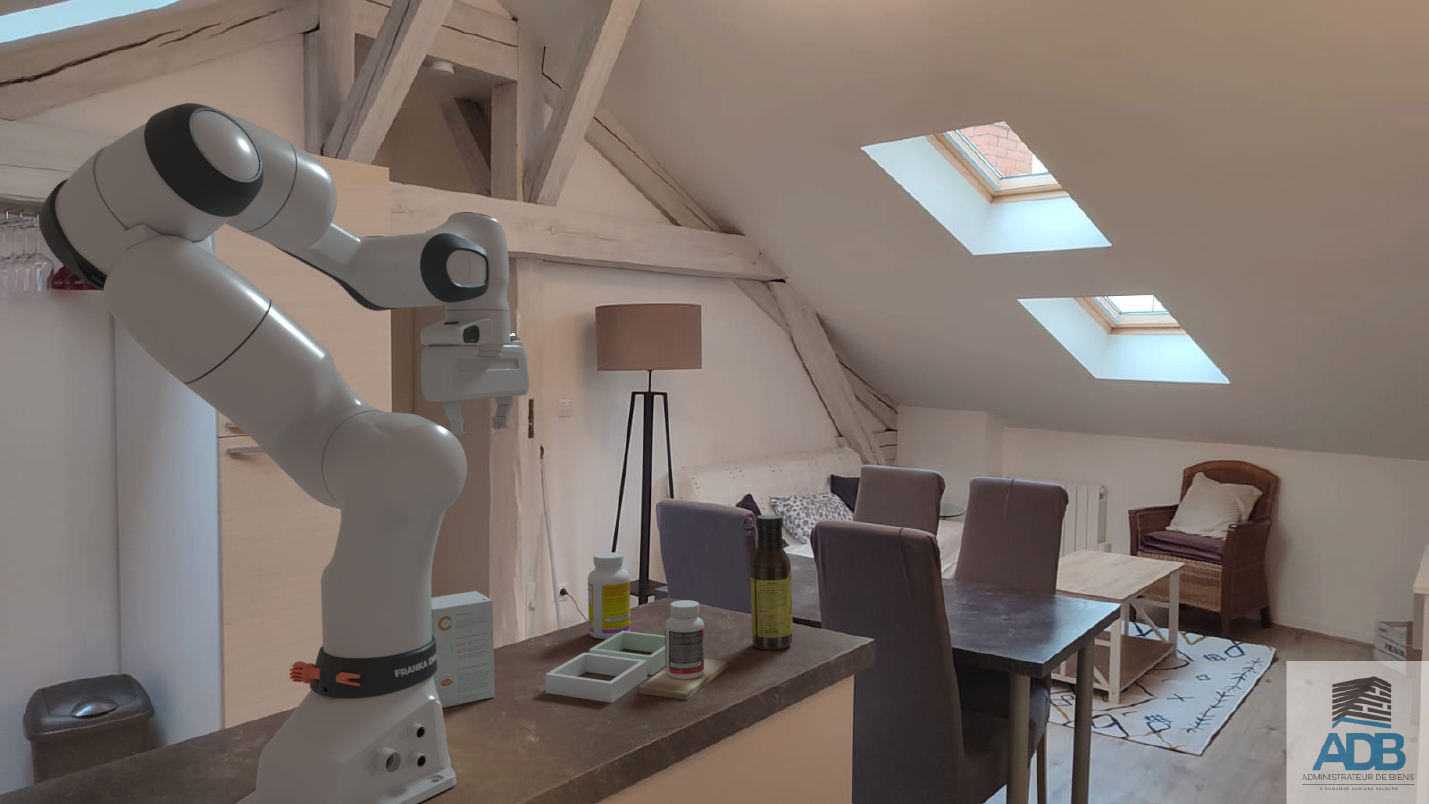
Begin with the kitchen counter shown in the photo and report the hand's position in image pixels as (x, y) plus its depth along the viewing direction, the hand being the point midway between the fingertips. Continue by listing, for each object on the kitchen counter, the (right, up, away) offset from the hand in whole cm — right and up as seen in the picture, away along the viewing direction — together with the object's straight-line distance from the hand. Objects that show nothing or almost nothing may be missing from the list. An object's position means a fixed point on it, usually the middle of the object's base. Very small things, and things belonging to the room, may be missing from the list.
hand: (480, 431), depth 136 cm
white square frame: (+17, -34, -5) cm, 39 cm away
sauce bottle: (+42, -33, +13) cm, 55 cm away
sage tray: (+21, -34, +6) cm, 40 cm away
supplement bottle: (+16, -33, +19) cm, 42 cm away
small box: (-1, -35, -9) cm, 36 cm away
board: (+29, -34, -3) cm, 45 cm away
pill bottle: (+29, -34, -3) cm, 44 cm away
